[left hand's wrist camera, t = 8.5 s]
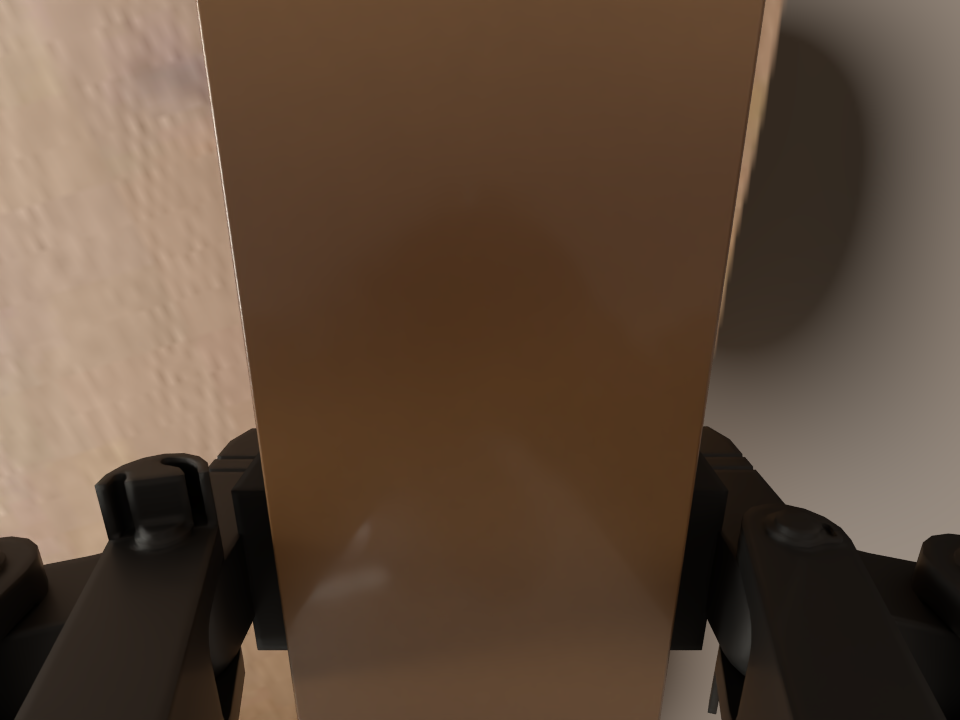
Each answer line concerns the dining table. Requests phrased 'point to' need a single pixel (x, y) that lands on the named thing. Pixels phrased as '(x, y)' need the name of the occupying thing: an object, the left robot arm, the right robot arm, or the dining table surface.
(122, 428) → the dining table surface
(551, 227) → the beam
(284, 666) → the dining table surface
